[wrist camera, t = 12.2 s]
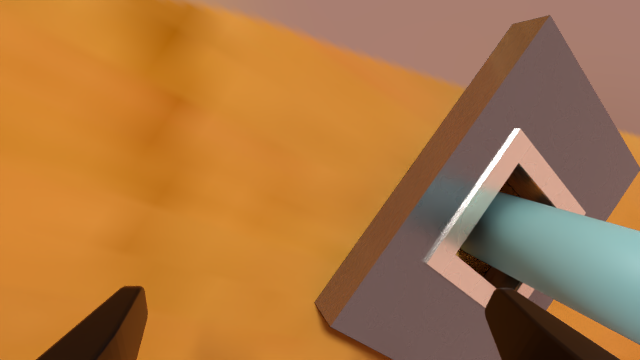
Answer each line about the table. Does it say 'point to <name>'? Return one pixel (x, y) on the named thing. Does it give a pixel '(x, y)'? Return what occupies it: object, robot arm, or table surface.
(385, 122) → the table surface
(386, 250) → the flange plate
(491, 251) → the teal peg
